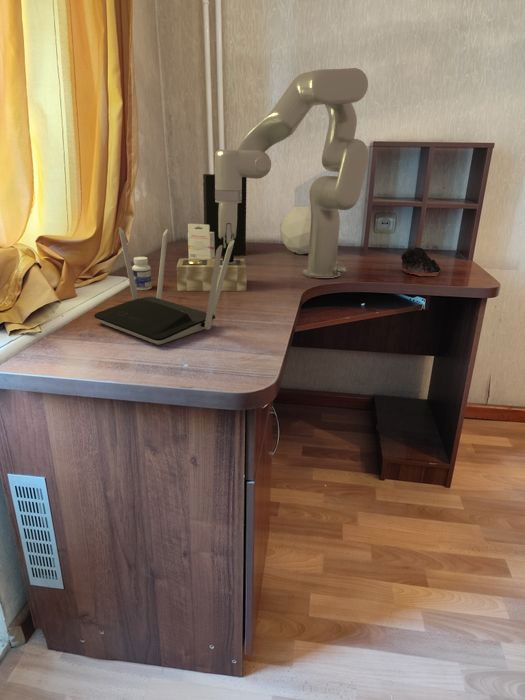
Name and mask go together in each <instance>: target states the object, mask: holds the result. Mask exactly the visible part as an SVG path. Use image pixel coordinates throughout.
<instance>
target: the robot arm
mask: <svg viewBox="0 0 525 700" xmlns="http://www.w3.org/2000/svg"><path fill="white" fill-rule="evenodd" d="M368 88H369V80H368V77H367V74H366V72H364V71H363V70H362V69H360V68H358V67H353V68H352V67H351V68H350V67H349V68H348V67H347V68H328V69H327V68H325V69H315V70H311V71H307V72H303V73H300V74H299V75H297V76H296V77H295V78H294V79H293V80H292V81H291V83H290V84H289V85H288V86H287V88H286V89H285V91H284V93H283V94H282V95H281V96H280V99H279V100H278V101H277V103H276V104H275V105H274V107H272V110H271V111H270V112H269V113H268V115H266V116H265V117H264V118H262V120H261V121H260V122H259V123H257V124H256V125H255V126H254V127H253V128H252V129H251V130H250V131H249V132H248V133H247V134H246V135H245V137H244V138H243V139H242V140H241V141H240V143H239V144H238V146H237V147H236V149H218V150H217V151H215V154H214V174H215V202H217V203H219V211H218V219H219V220H218V224H219V238H220V239H221V237H223V238H224V247H223V256H222V259H223V261H224V258H225V254H226V251H227V247H228V244H229V243H230V242H231V241H232V240H233V238H234V239H235V238H236V229H237V203H242V201H241V200H242V191H241V190H242V177H245V178H248V179H255V180H257V179H262V178H265V177H266V176H267V175H268V174H269V173H270V171H271V168H272V160H271V157H270V156H269V154H267V153H266V151H267V150H269V149H270V148H271V147H273V146H274V145H276V144H278V143H280V142H282V141H284V140H286V139H287V138H289V137H291V136H292V135H293V134H294V133H295V131H296V130H297V128H298V127H299V125H300V124H301V122H302V121H303V120H304V118H305V117H306V115H308V113H309V112H310V111H311V109H312V108H313V107H314V106H321V105H324V107H325V108H326V111H327V113H328V127H327V132H326V137H325V140H324V145H323V150H322V153H321V154H322V156H321V164H322V167H323V168H324V169H325V170H326V171H328V172H333V173H338V174H337V176H335V175H322V176H320V177H318V178H316V179H314V181H313V182H312V183H311V185H310V188H309V203H310V205H309V206H310V207H311V226H310V240H309V254H308V255H307V257H308V258H307V268H305V269H303V270H302V275H303V274H304V275H303V276H305V275H306V276H305V277H307V276H310V277H309V278H311V277H334V276H338V275H339V274H340V275H341V274H345V275H346V274H348V267H347V266H340V262H339V261H338V249H339V248H338V247H339V237H340V228H341V217H340V211H348V210H351V209H353V208H354V207H355V205H356V204H357V203H358V201H359V199H360V197H361V192H362V189H363V185H364V181H365V176H366V173H367V169H368V165H369V156H370V155H369V150H368V146H367V145H366V143H365V141H363V140H361V139H358V138H355V136H356V131H357V125H358V122H357V121H358V119H357V113H356V110H355V107H354V105H353V103H357V102H360V101H362V99H363V98H364V97H365V95H366V94H367V92H368ZM339 210H340V211H339ZM234 259H235V256H234V247H233V248H232V252H231V256H230V259H229V262H233V261H234Z"/></svg>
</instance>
